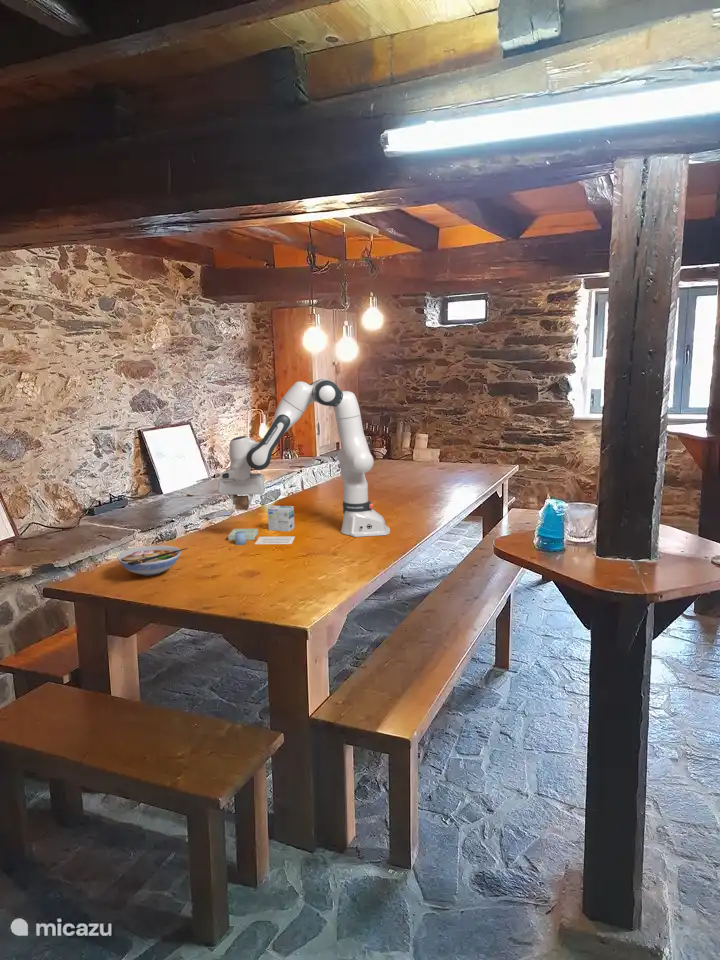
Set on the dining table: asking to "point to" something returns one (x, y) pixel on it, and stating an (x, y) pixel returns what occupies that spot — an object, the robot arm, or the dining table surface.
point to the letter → (275, 540)
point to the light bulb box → (281, 518)
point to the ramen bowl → (149, 559)
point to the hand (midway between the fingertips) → (241, 504)
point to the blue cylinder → (240, 538)
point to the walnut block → (241, 502)
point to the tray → (250, 534)
